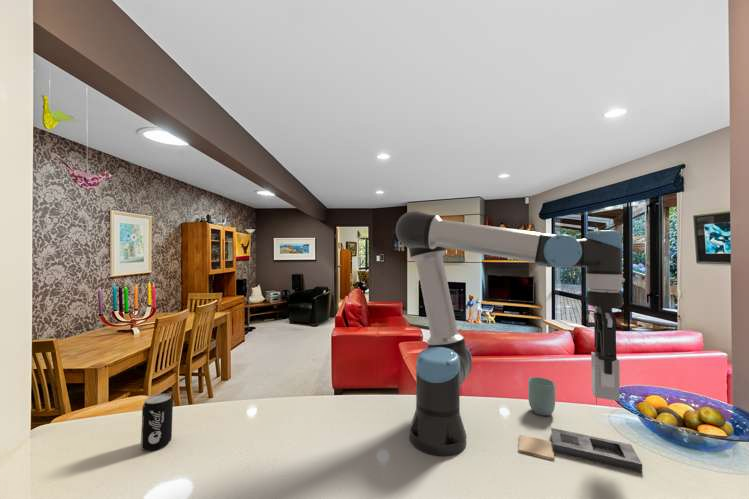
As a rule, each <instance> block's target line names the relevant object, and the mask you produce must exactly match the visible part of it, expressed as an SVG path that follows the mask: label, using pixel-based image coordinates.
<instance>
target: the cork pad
mask: <svg viewBox="0 0 749 499" xmlns="http://www.w3.org/2000/svg"><path fill="white" fill-rule="evenodd" d="M518 438H519V439H518V453H522V454H525V455H531V456H532V457H533V456H534V457H537V458H538V457H539V458H542V459H546V460H551V461H554V462H555V454H554V453H555V452H554V451H553V443H552V440H551V441H550V440H546V439H541V438H536V437H532V436H527V435H524V434H519V437H518Z"/></svg>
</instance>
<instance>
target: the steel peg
mask: <svg viewBox="0 0 749 499" xmlns="http://www.w3.org/2000/svg"><path fill="white" fill-rule="evenodd" d="M590 354H591V355H590V356H591V357H590V358H591V361H590V362H591V363H590V364H591V368H590V369H591V391H592V393H593V396H594V398H599V399H602V400H603V399H604V400H610V401H615V402H620V401H621V398H620V397H621V395H620V393H621V391H620V390H621V389H620V382H621V381H620V359H619V358H618V357H617V359H616V361H615V360H614V388H611V387H605V386H601V385H600V359H598V357H601V353H598V352H596V351H595V352H594V351H591V352H590ZM608 355H609V354H608Z"/></svg>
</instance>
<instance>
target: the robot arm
mask: <svg viewBox="0 0 749 499" xmlns="http://www.w3.org/2000/svg"><path fill="white" fill-rule="evenodd" d="M395 234H396V238H397V240H398V241H399V242H400V244H401V245H403V246H404V247H406V248H408V250H409V257H410V259H411V260H412V261H414V262H415V264H416V268H417V273H418V278H419V283H420V287H421V293H422V298H423V304H424V307H425V309H424V310H425V314H426V319H427V324H428V328H429V335H430V337H429V339H428V340H427V341H426V345H427V348H424V349H422V350H421V351H419V353H418V354H417V356H416V363H415V370H416V371H415V372H416V373H415V376H416V377H415V378H416V382H415V384H416V386H415V390H416V391H415V395H416V396H415V401H416V402H415V403H416V405H415V406H416V407H415V412H414V415H413V418H412V420H411V423H410V426H409V440H410V443H411V444H412V445H413V447H415V448H416V449H418V450H419V451H421V452H424V453H426V454H430V455H434V456H439V457H440V456H443V457H446V456H455V455H458V454H460V453H461V452H463V451H464V450H465V449H466V448H467V433H466V430H465V426H464V423H463V419H462V417H461V416H462V415H461V412H460V409H461V408H460V403H461V402H460V401H461V400H460V399H461V397H460V395H461V394H460V390H461V386H462V385H463V383H464V382H465V380H466V379H467V377H468V376H469V375H470V372H471V370H472V366H473V357H472V354H471V352H470V350H469V348H468V347H467V346H466V342H465V337H464V336H463V335H462V334H461V333H460V332H458V327H457V323H456V322H457V321H456V316H455V312H454V307H453V301H452V298H451V292H450V288H449V283H448V278H447V273H446V269H445V263H444V259H443V257H444V256H445V255H446V253H447V249H450V250H457V251H462V252H469V253H475V254H479V255H487V256H493V257H499V258H504V259H510V260H515V261H522V262H529V263H535V264H536V265H537V266H539V267H546V268H552V267H553V268H555V267H556V268H561V269H567V268H586V273H585V281H586V282H585V283H586V284H585V287H586V289H588V290H587V291H586V305H588V306H591V307H596V311H593V319H594V320H593V321H594V324H593V325H594V326H593V327H594V331H593V332H594V338H593V339H594V340H593V341H594V345H593V347H594V348H595V350H594V351H595V352H596V353H601V357H598V359H600V385H601V386H605V387H611V388H614V360H615V361H616V359H617V358H618V357H617V324H618V321H617V319H616V315H615V314H614V313H613V309H617V308H618V309H619V308H622V307H623V300H624V298H623V293H622V292H621V291H622V290H623V283H624V282H626V281H625V280H626V279H625V278H624V277H623V249H624V248H623V246H622V243H623V242H622V234H621V233H620V232H619V231H618V230H608V229H607V230H605V229H604V230H591V231H587V232H586V234H585V237H584V238H578V239H577V238H576V237H574V236H572V235H569V234H564V233H560V234H559V233H558V234H554V233H544V232H538V231H530V230H523V229H516V228H508V227H499V226H493V225H492V226H491V225H484V224H478V223H477V224H476V223H470V222H462V221H456V220H455V221H454V220H446V219H445V220H444V219H441V217H440V216H439V215H436V214H429V213H425V212H422V211H419V210H410V211H408V212H406V213H404V214H403V215H401V216H400V217H399V219H398V221H397V222H396V226H395ZM608 354H609V355H608Z"/></svg>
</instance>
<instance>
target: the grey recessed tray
mask: <svg viewBox="0 0 749 499" xmlns="http://www.w3.org/2000/svg"><path fill="white" fill-rule="evenodd" d="M550 430H551V431H550V434H551V442H552V443H553V451H554V453H555V454H560V455H564V456H569V457H573V458H577V459H581V460H585V461H590V462H594V463H598V464H603V465H606V466H610V467H614V468H618V469H624V470H627V471H631V472H636V473H639V474H643V463H642V461H641V460H640V458H639V456H638V454H637V453H636V451H635V449H634V446H633V445H632V444H630V443H625V442H622V441H615V440H610V439H608V438H607V439H606V438H602V437H596V436H592V435H587V434H583V433H578V432H573V431H568V430H567V431H566V430H563V429H559V428H553V427H551V429H550ZM594 448H599V449H604V450H607V451H613V452H617V453H619V455H620V456H618V455H614V454H610V453H606V452H601V451H597V450H594Z"/></svg>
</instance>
